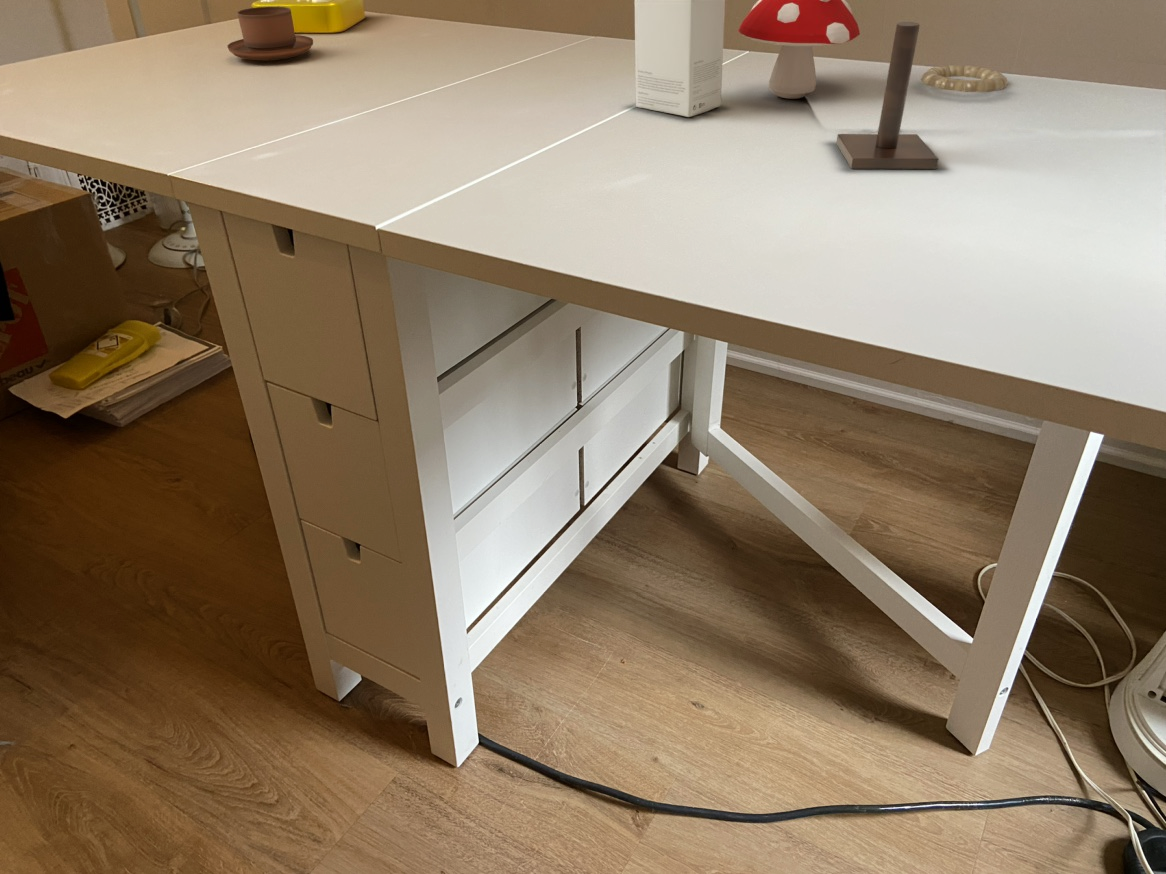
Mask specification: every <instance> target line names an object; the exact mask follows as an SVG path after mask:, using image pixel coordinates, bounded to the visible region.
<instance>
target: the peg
mask: <svg viewBox="0 0 1166 874" xmlns="http://www.w3.org/2000/svg"><path fill="white" fill-rule="evenodd" d="M920 27H921V25H920V23H918V22H914V21H900V22H899V21H898V22H897V23H896V26H895V32H894V39H893V44H892V49H891V54H890V61H889V65H888V72H887V78H886V84H885V89H884V90H885V91H884V94H883V100H882V106H881V111H880V118H879V124H878V128H877V133H838V134H837V135H836V146H837V147H838V149H839V151H840V153H841V154H842V156H843V157H844V159H845V161H846V162H847V164H848V166H849V167H850V170H851V169H852V170H855V169H857V170H870V169H871V170H937V168H938V163H939V158H938V156H937V155H936V154H935V153H934V151H932V150H931V148H930V147H929V146H928V145H927V144H926V143H925V142H924V140H923V139H922V138H921V137H920V136H919V135H918V134H917V133H901V132H900V131H901V127H902V123H903V116H904V111H905V106H906V100H907V94H908V91H909V84H910V78H911V73H912V68H913V65H914V64H913V63H914V58H915V52H916V47H917V43H918V42H917V41H918V36H919V31H920Z"/></svg>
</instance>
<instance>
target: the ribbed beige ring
mask: <svg viewBox="0 0 1166 874" xmlns="http://www.w3.org/2000/svg"><path fill="white" fill-rule="evenodd" d="M950 77H952V78H950ZM953 77H957V78H953ZM958 77H959V78H960V77H963V78H964V77H965V78H972V79H959V78H958ZM973 78H974V79H973ZM920 81H921V82H922V83H923V84H925V85H926V86H928V87H929V86H930V87H933V88H936V89H938V90H945V91H952V92H960V93H961V92H963V93H987V92H989V93H990V92H994V91H1001V90H1004V89H1005V87H1006V86H1007V85H1008V78H1007V77H1006V76H1005V75H1004V74H1003V73H1001V72H999V71H998V70H995V69H992V68H991V69H990V68H986V67H983V66H982V67H981V66H972V65H940V66H935V67H931V68H929V69H928V70H927V71H925V72H923V74H922V75H921V77H920Z"/></svg>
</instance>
